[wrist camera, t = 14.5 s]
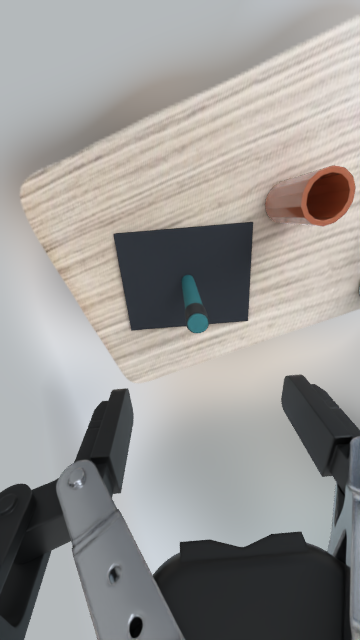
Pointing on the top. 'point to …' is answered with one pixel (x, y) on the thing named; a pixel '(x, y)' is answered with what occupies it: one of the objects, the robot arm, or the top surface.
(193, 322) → the marker
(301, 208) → the pen pot
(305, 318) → the top surface
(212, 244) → the desk mat
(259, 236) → the top surface
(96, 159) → the top surface
